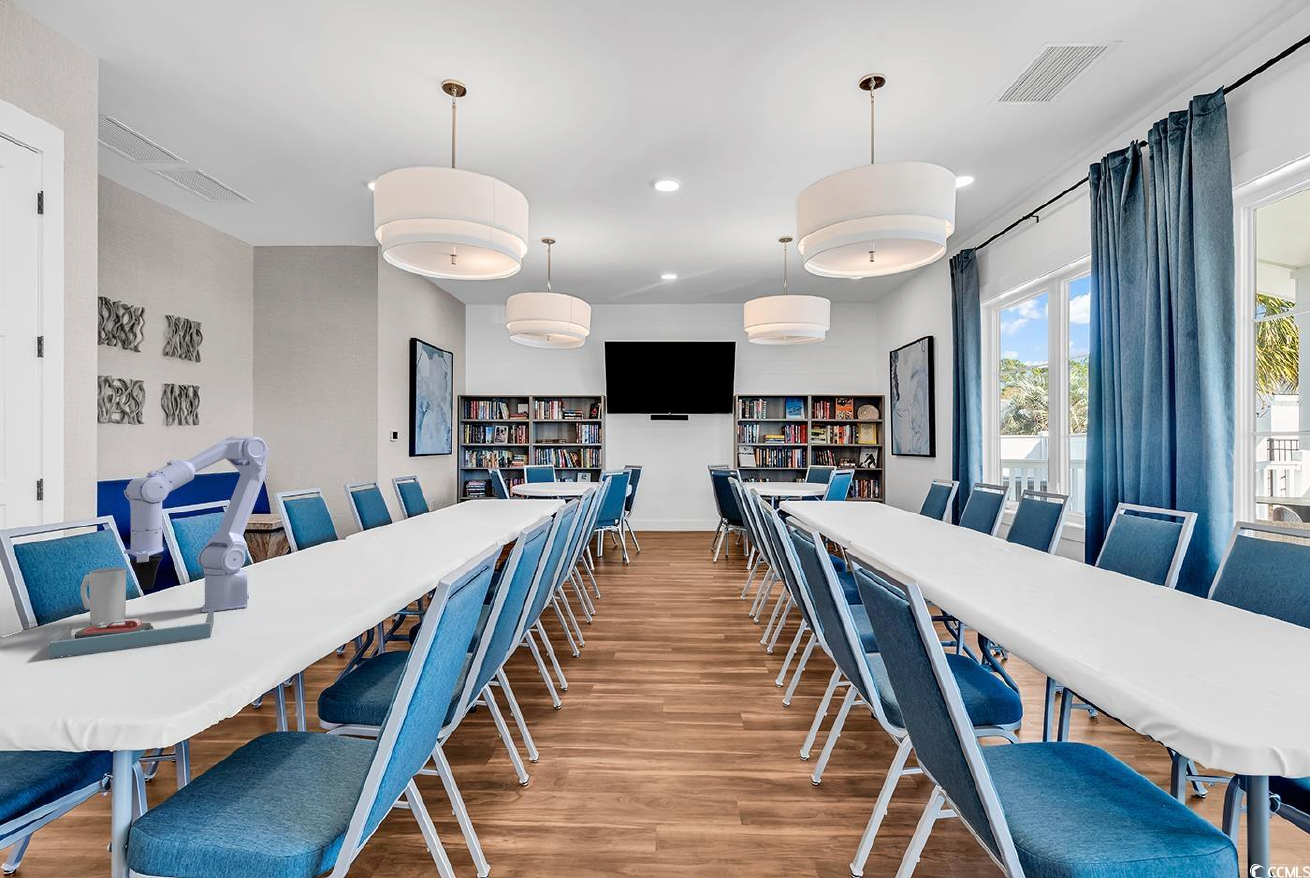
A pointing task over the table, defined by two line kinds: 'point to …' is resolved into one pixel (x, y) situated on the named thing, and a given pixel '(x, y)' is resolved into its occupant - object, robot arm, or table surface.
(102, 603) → the mug
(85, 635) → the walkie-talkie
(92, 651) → the tray
